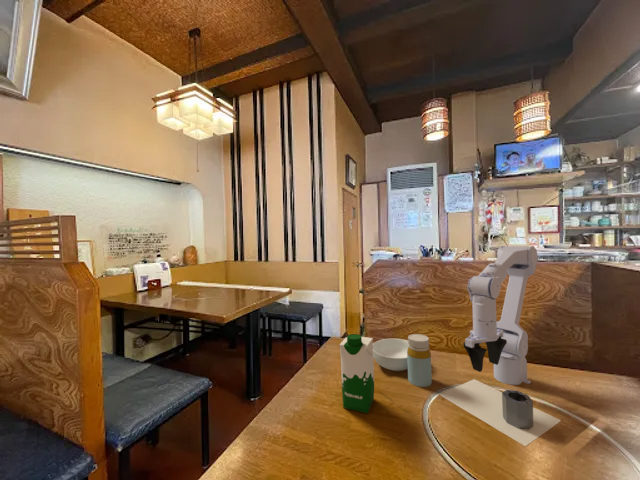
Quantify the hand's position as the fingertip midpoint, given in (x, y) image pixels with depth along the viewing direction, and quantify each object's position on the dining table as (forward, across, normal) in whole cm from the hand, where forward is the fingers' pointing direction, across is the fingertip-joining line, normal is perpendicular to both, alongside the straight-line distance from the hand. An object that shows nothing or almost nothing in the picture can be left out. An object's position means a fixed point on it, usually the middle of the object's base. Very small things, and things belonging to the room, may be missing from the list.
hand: (485, 366), depth 76 cm
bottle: (+10, +10, -15) cm, 20 cm away
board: (+9, +3, +4) cm, 11 cm away
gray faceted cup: (+8, +4, +10) cm, 14 cm away
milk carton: (+10, +32, -17) cm, 37 cm away
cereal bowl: (+10, +8, -28) cm, 31 cm away
